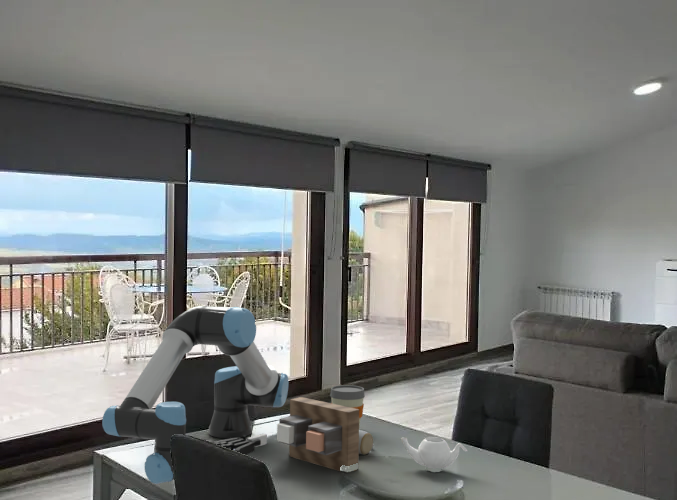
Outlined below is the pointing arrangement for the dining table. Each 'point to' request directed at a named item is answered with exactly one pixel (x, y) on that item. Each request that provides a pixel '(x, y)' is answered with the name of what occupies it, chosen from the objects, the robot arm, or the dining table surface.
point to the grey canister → (365, 442)
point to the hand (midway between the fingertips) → (265, 438)
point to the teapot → (433, 452)
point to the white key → (285, 433)
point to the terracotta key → (315, 440)
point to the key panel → (337, 431)
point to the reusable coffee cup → (348, 397)
